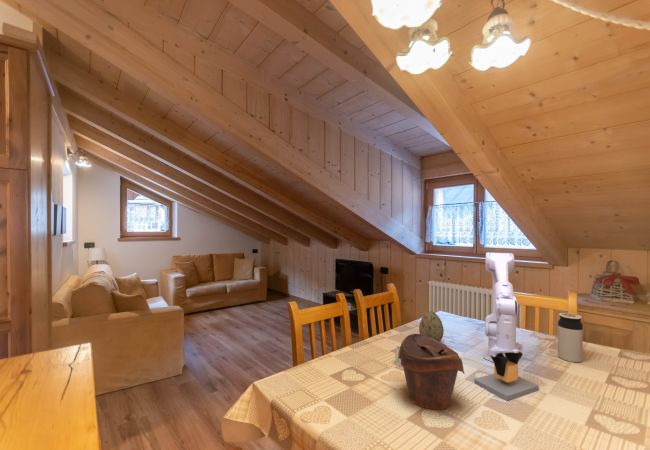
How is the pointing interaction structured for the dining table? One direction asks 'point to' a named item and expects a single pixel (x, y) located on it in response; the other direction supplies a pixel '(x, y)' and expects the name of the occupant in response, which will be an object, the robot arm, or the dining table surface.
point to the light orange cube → (508, 372)
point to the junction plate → (506, 386)
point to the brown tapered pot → (429, 370)
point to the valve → (398, 361)
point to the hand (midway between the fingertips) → (505, 373)
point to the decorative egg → (431, 326)
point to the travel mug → (570, 337)
